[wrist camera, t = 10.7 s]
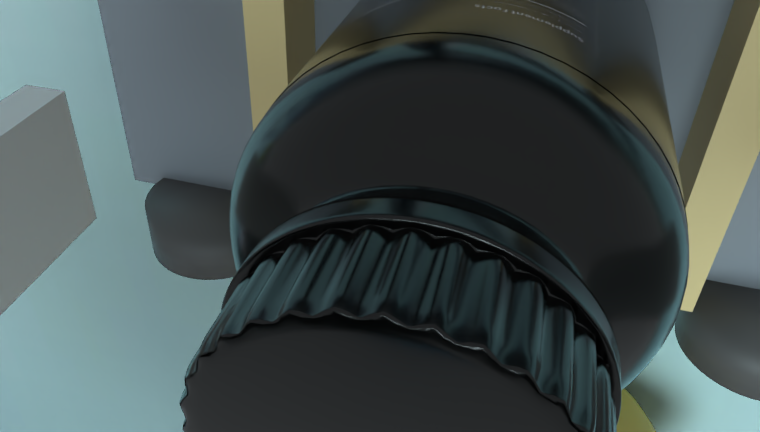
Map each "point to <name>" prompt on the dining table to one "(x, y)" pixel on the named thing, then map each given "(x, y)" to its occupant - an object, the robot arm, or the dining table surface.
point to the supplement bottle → (452, 227)
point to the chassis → (307, 34)
